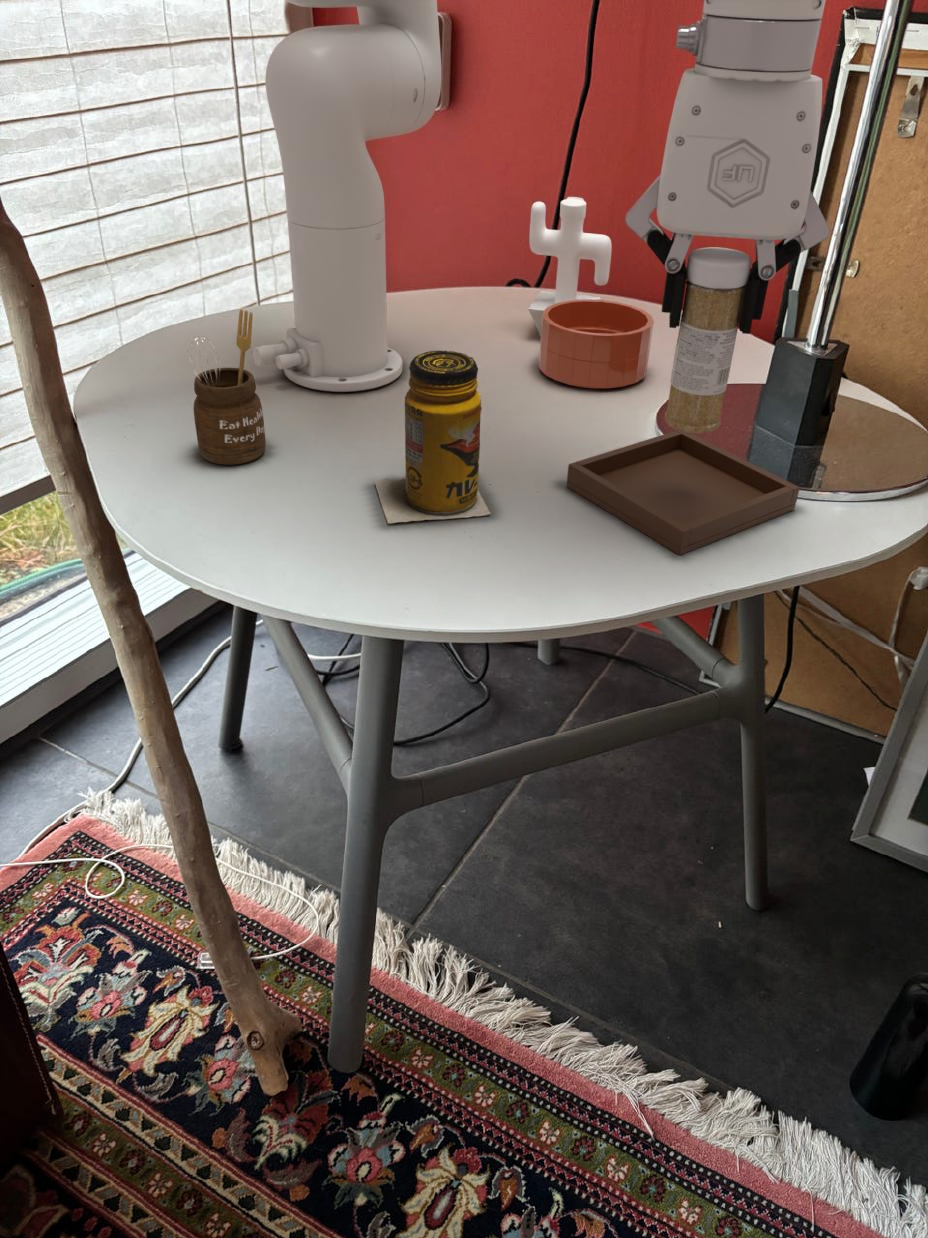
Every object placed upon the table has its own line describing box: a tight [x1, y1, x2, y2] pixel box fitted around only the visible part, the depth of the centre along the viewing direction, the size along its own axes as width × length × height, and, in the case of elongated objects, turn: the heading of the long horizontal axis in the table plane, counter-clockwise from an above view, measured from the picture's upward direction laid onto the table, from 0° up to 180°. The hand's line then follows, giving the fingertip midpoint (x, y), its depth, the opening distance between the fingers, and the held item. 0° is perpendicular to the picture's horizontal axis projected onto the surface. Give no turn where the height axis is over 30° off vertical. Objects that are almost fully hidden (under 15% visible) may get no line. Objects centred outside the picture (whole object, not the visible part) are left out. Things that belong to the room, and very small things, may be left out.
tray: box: [566, 429, 801, 556], centre depth 82 cm, size 14×14×2 cm
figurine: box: [528, 196, 613, 337], centre depth 112 cm, size 7×9×15 cm
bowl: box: [538, 299, 655, 390], centre depth 105 cm, size 12×12×6 cm
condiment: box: [373, 350, 492, 524], centre depth 78 cm, size 7×8×12 cm
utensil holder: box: [186, 308, 266, 466], centre depth 85 cm, size 6×6×12 cm
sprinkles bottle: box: [664, 246, 752, 435], centre depth 75 cm, size 5×5×13 cm
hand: (709, 322), depth 74 cm, fingers closed on sprinkles bottle, 4 cm apart
